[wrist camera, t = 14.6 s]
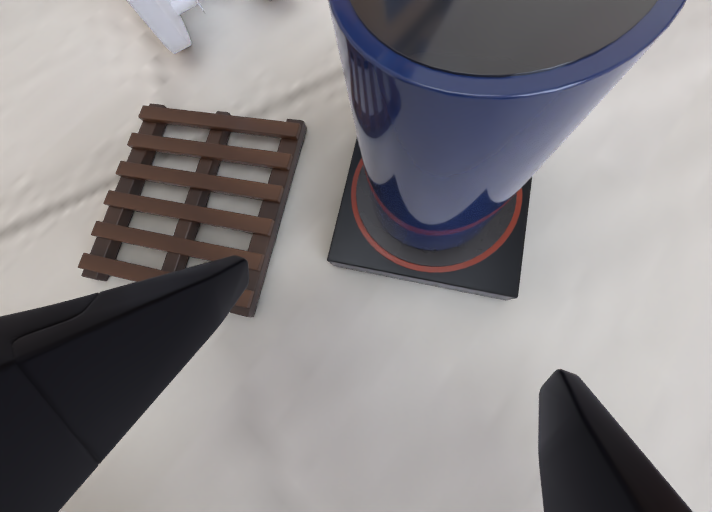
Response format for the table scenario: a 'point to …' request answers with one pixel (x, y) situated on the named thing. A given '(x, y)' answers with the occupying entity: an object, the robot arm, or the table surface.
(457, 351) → the table surface
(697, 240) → the table surface
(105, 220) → the rack
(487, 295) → the hot plate
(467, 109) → the blue mug
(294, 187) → the table surface
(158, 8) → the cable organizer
